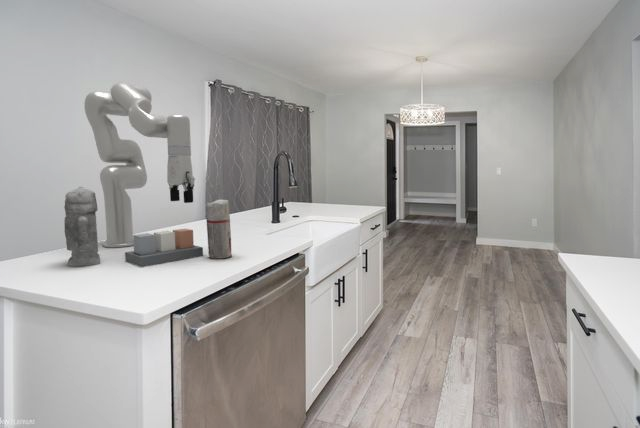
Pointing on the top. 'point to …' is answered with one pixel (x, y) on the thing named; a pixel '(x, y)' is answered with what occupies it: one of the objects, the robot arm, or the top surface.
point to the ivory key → (165, 241)
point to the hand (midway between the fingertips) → (181, 201)
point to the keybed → (163, 256)
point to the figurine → (81, 227)
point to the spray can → (218, 229)
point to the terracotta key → (183, 238)
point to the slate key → (144, 244)
